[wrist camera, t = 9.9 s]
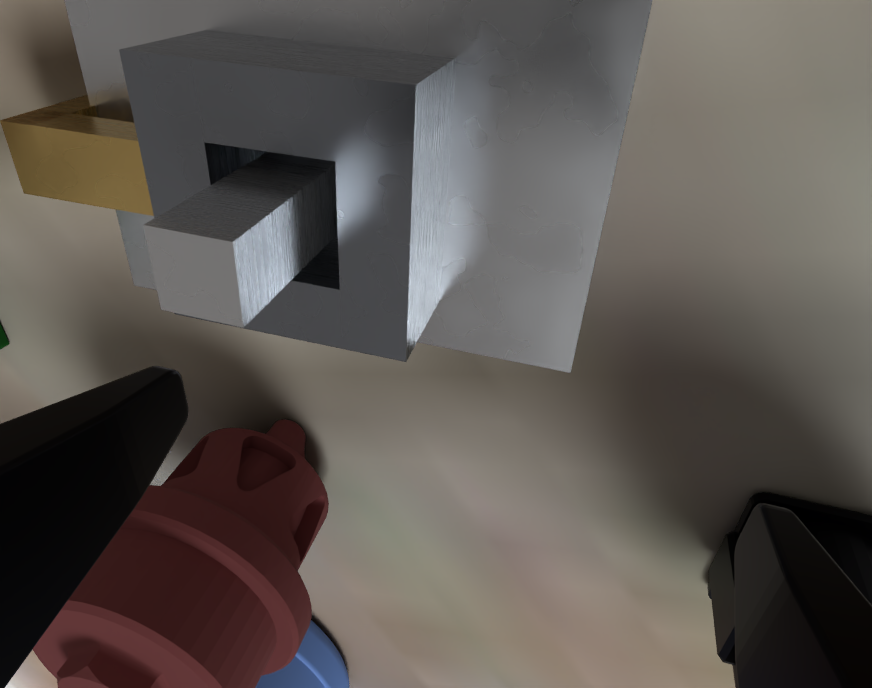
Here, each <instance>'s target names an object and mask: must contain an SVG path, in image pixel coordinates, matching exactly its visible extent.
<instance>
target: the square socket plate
mask: <svg viewBox="0 0 872 688" xmlns="http://www.w3.org/2000/svg"><path fill="white" fill-rule="evenodd" d="M64 1H65V5H66V9H67V13H68V17H69V21H70V25H71V29H72V34H73V38H74V42H75V46H76V50H77V54H78V58H79V62H80V66H81V70H82V74H83V78H84V82H85V87H86V91H87V95H85V96H82V97H78V98H75V99H71V100H68V101H65V102H61V103H58V104H54V105H51V106H48V107H44V108H41V109H37V110H34V111H31V112H27V113H24V114H20V115H17V116H14V117H10V118H7V119H3V120H0V122H1V125H2V128H3V131H4V134H5V137H6V140H7V143H8V146H9V149H10V152H11V155H12V158H13V161H14V164H15V168H16V171H17V174H18V177H19V180H20V183H21V186H22V189H23V192H24V193H25V194H31V195H36V196H42V197H48V198H53V199H59V200H65V201H71V202H76V203H82V204H88V205H93V206H99V207H105V208H110V209H116V213H117V217H118V221H119V225H120V229H121V233H122V237H123V241H124V246H125V250H126V254H127V258H128V262H129V266H130V270H131V274H132V278H133V282H134V286H139V287H144V288H149V289H154V290H157V288H156V283H155V279H154V274H153V269H152V265H151V260H150V255H149V250H148V246H147V241H146V236H145V231H144V227H143V225H144V224H146V223H147V222H149V221H151V220H152V219H154V218H156V217H157V216H159V215H161V214H163V213H164V212H166V211H168V210H169V209H171V208H173V207H174V206H176V205H178V204H180V203H181V202H183V201H185V200H186V199H188V198H190V197H191V196H193V195H195V194H197V193H198V192H200V191H202V190H203V189H205V188H207V187H208V186H210V185H212V184H214V183H215V182H217V181H219V180H220V179H222V178H224V177H225V176H227V175H229V174H230V173H232V172H234V171H236V170H237V169H239V168H241V167H242V166H244V165H246V164H247V163H249V162H251V161H253V160H254V159H256V158H258V157H259V156H261V155H263V154H264V153H266V152H274V153H280V154H287V155H294V156H301V157H308V158H314V159H321V160H328V161H335V170H336V199H337V227H338V234H337V235H336V236H335V237H334V238H333V239H332V240H331V241H330V242H329V243H328V244H327V245H326V246H325V247H324V248H323V249H322V250H321V251H320V252H319V253H318V254H317V255H316V256H315V257H314V258H313V259H312V260H311V261H310V262H309V263H308V264H307V265H306V266H305V267H304V268H303V269H302V270H301V271H300V272H299V273H298V274H297V275H296V276H295V277H294V278H293V279H292V280H291V281H290V282H289V283H288V284H287V285H286V286H285V287H284V288H283V289H282V290H281V291H280V292H279V293H278V294H277V295H276V296H275V297H274V298H273V299H272V300H271V301H270V302H269V303H268V304H267V305H266V306H265V307H264V308H263V309H262V310H261V311H260V312H259V313H258V314H257V315H256V316H255V317H254V318H253V319H252V320H251V321H250V322H249V323H248V324H247V325H246V326H245V327H244V328H245V329H250V330H254V331H259V332H264V333H269V334H274V335H278V336H283V337H288V338H293V339H298V340H303V341H307V342H312V343H317V344H322V345H327V346H332V347H336V348H341V349H346V350H351V351H356V352H361V353H365V354H370V355H375V356H380V357H385V358H389V359H394V360H399V361H404V362H406V361H407V359H408V357H409V356H410V354H411V352H412V350H413V348H414V346H415V345H416V343H417V342H419V343H424V344H429V345H434V346H439V347H444V348H449V349H454V350H459V351H464V352H469V353H474V354H479V355H484V356H489V357H494V358H499V359H504V360H509V361H514V362H519V363H524V364H529V365H534V366H539V367H544V368H549V369H554V370H559V371H564V372H569V373H570V372H571V368H572V363H573V359H574V354H575V350H576V345H577V341H578V336H579V331H580V327H581V322H582V318H583V313H584V309H585V304H586V300H587V295H588V291H589V286H590V282H591V277H592V272H593V268H594V263H595V259H596V254H597V250H598V245H599V241H600V236H601V232H602V227H603V222H604V218H605V213H606V209H607V204H608V200H609V195H610V191H611V186H612V182H613V177H614V173H615V168H616V163H617V159H618V154H619V150H620V145H621V141H622V136H623V132H624V127H625V123H626V118H627V113H628V109H629V104H630V100H631V95H632V91H633V86H634V82H635V77H636V73H637V68H638V64H639V59H640V54H641V50H642V45H643V41H644V36H645V32H646V27H647V23H648V18H649V14H650V9H651V5H652V0H64ZM174 314H177V315H182V316H187V317H192V318H196V319H201V320H206V319H202V318H197V317H193V316H188V315H183V314H179V313H174ZM206 321H211V320H206ZM211 322H216V321H211ZM216 323H220V322H216ZM221 324H225V323H221ZM225 325H229V324H225ZM230 326H234V325H230ZM235 327H239V326H235ZM240 328H243V327H240Z"/></svg>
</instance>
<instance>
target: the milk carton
mask: <svg viewBox="0 0 872 688" xmlns="http://www.w3.org/2000/svg"><path fill="white" fill-rule="evenodd" d="M7 345H9V341H8V339H7V337H6V335H5V333H4V330H3V328H2V326H1V324H0V349H2V348H3V347H5V346H7Z"/></svg>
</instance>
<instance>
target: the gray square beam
mask: <svg viewBox="0 0 872 688" xmlns="http://www.w3.org/2000/svg"><path fill="white" fill-rule="evenodd" d="M143 227H144V231H145V236H146V241H147V246H148V250H149V255H150V260H151V265H152V269H153V274H154V279H155V283H156V288H157V293H158V298H159V302H160V307H161V310H165V311H170V312H174V313H179V314H183V315H188V316H193V317H197V318H202V319H206V320H211V321H216V322H220V323H225V324H229V325H234V326H239V327H243V328H244V327H245V326H246V325H247V324H248V323H249V322H250V321H251V320H252V319H253V318H254V317H255V316H256V315H257V314H258V313H259V312H260V311H261V310H262V309H263V308H264V307H265V306H266V305H267V304H268V303H269V302H270V301H271V300H272V299H273V298H274V297H275V296H276V295H277V294H278V293H279V292H280V291H281V290H282V289H283V288H284V287H285V286H286V285H287V284H288V283H289V282H290V281H291V280H292V279H293V278H294V277H295V276H296V275H297V274H298V273H299V272H300V271H301V270H302V269H303V268H304V267H305V266H306V265H307V264H308V263H309V262H310V261H311V260H312V259H313V258H314V257H315V256H316V255H317V254H318V253H319V252H320V251H321V250H322V249H323V248H324V247H325V246H326V245H327V244H328V243H329V242H330V241H331V240H332V239H333V238H334V237H335V236H336V235H337V234H338V227H337V199H336V170H335V161H328V160H321V159H314V158H308V157H301V156H294V155H287V154H280V153H274V152H266V153H264V154H263V155H261V156H259V157H258V158H256V159H254V160H253V161H251V162H249V163H247V164H246V165H244V166H242V167H241V168H239V169H237V170H236V171H234V172H232V173H230V174H229V175H227V176H225V177H224V178H222V179H220V180H219V181H217V182H215V183H214V184H212V185H210V186H208V187H207V188H205V189H203V190H202V191H200V192H198V193H197V194H195V195H193V196H191V197H190V198H188V199H186V200H185V201H183V202H181V203H180V204H178V205H176V206H174V207H173V208H171V209H169V210H168V211H166V212H164V213H163V214H161V215H159V216H157V217H156V218H154V219H152V220H151V221H149V222H147V223H146V224H144V225H143Z"/></svg>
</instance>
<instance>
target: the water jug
mask: <svg viewBox="0 0 872 688" xmlns="http://www.w3.org/2000/svg"><path fill="white" fill-rule="evenodd" d="M255 688H349V677H348V673H347V669H346V666H345V664H344V661H343V659H342V657H341V655H340V653H339V652H338V650H337V649H336V647H335V646H334V644H333V643H332V641H331V640H330V639H329V638H328V637H327V635H326V634H325V633H324V632H323V631H322V630H321V629H320V628H319V627H318V626H317V625H316V624H315V623H314V622H313V621H312V620H311V621H310V625H309V628H308V630H307V632H306V634H305V636H304V638H303V640H302V642H301V645H300V647H299V649H298V651H297V653H296V655H295V657H294V658H293V659H292V661H291V662H290V663H289V664H288V665H287V666H285V667H284V668H282V669H280V670H278V671H276V672H273V673H270V674H266V675H262V676H261V677H260V679H259V681H258V683H257V685H256V687H255Z"/></svg>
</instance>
